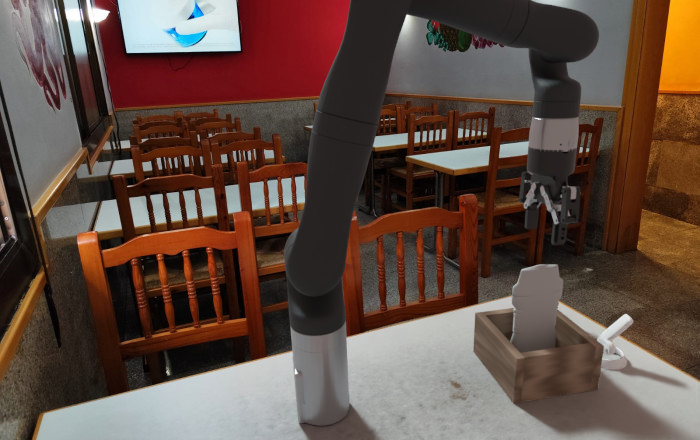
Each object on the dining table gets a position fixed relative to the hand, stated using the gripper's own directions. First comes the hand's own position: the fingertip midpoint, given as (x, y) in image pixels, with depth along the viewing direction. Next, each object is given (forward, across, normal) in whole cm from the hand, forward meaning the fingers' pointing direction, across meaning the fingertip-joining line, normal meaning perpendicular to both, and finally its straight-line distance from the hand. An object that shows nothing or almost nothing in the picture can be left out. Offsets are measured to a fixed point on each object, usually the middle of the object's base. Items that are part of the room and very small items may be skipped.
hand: (543, 236), depth 84 cm
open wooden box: (+28, 0, 0) cm, 28 cm away
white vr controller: (+28, 0, +16) cm, 32 cm away
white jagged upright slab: (+28, 0, 0) cm, 28 cm away
